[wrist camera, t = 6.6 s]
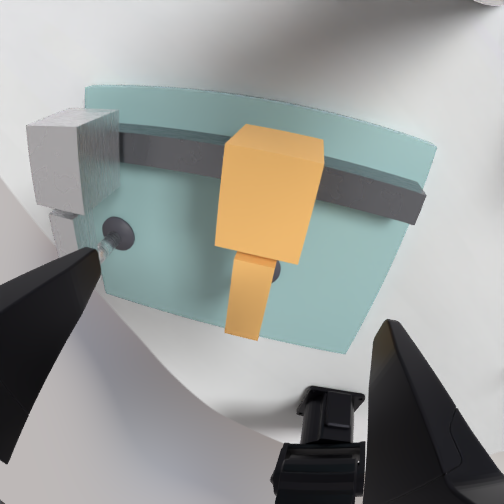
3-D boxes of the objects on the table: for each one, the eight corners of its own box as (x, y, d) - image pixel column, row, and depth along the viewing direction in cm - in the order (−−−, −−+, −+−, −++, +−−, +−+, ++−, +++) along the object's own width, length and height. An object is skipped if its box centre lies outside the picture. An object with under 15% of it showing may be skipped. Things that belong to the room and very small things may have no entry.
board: (345, 345, 28) (345, 356, 27) (110, 286, 30) (104, 294, 29) (432, 143, 17) (438, 148, 16) (93, 85, 19) (83, 88, 18)
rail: (407, 210, 19) (414, 225, 17) (91, 147, 21) (75, 156, 19) (417, 181, 18) (426, 195, 16) (90, 121, 19) (73, 128, 18)
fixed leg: (136, 249, 24) (99, 296, 20) (95, 238, 24) (55, 280, 20) (133, 104, 18) (76, 127, 13) (84, 102, 18) (26, 125, 13)
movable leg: (285, 285, 23) (274, 345, 19) (230, 272, 23) (208, 329, 19) (323, 132, 17) (324, 164, 12) (252, 118, 17) (224, 143, 12)
